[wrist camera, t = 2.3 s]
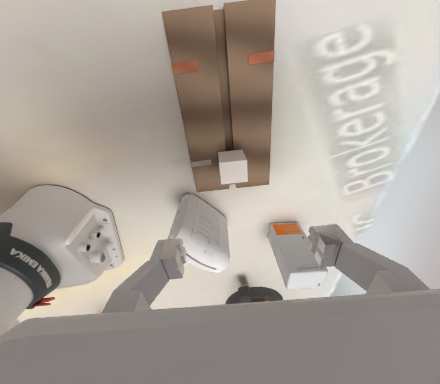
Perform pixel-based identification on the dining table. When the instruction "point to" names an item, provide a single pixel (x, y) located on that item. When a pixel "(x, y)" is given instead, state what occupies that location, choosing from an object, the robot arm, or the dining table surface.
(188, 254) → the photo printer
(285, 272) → the skincare box
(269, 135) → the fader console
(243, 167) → the fader knob
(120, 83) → the dining table surface
